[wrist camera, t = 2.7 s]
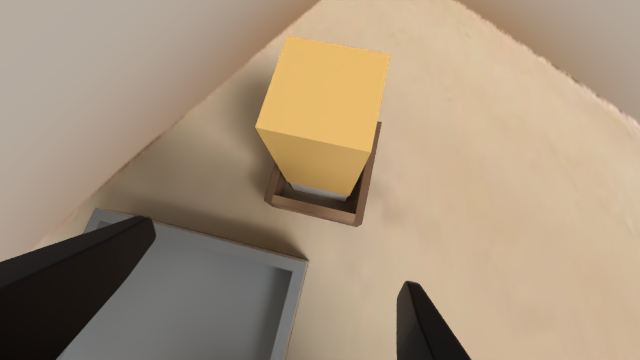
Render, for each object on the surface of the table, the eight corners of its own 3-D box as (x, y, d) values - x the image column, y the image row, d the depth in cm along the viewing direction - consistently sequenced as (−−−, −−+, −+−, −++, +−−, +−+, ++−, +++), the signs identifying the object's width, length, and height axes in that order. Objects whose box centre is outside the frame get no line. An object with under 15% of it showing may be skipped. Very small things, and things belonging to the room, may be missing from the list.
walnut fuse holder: (374, 137, 23) (381, 122, 20) (356, 226, 21) (361, 224, 18) (297, 121, 23) (293, 104, 21) (272, 206, 21) (263, 200, 18)
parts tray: (309, 260, 20) (306, 262, 17) (245, 523, 16) (227, 586, 13) (126, 213, 21) (95, 208, 18) (21, 443, 17) (-41, 483, 14)
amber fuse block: (356, 152, 23) (390, 54, 11) (345, 203, 21) (371, 152, 10) (305, 141, 23) (286, 35, 11) (292, 190, 22) (254, 127, 10)
